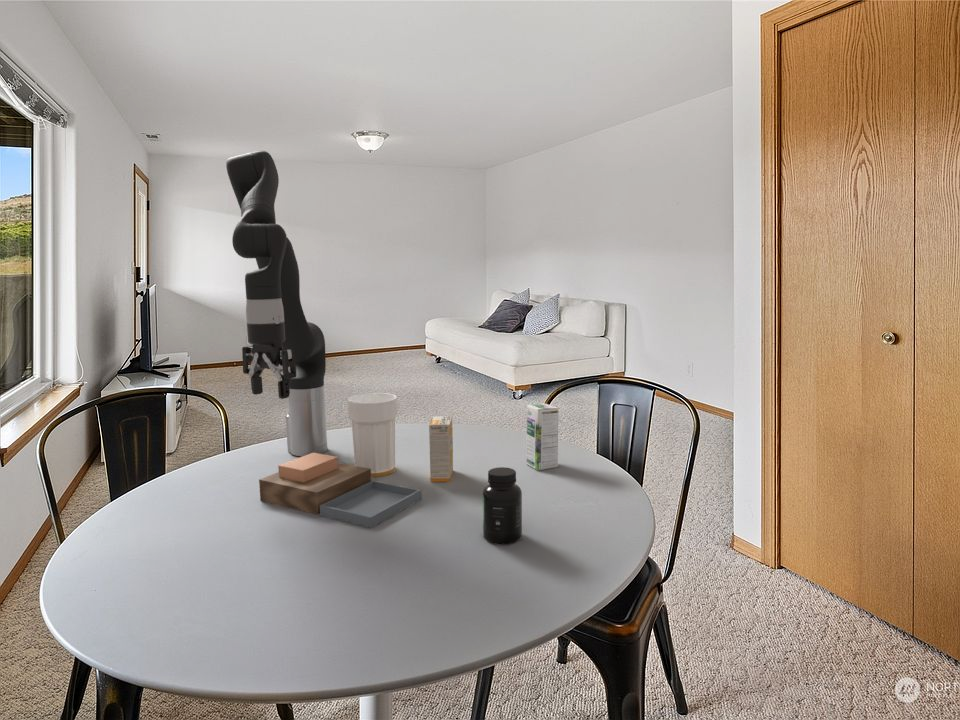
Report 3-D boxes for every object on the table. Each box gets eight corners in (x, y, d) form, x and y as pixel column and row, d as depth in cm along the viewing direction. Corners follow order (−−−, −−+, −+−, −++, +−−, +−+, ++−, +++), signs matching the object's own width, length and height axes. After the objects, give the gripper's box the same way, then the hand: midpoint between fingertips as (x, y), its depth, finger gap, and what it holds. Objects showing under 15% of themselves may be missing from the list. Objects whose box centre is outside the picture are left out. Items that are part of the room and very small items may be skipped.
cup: (390, 480, 142) (387, 403, 140) (343, 477, 145) (339, 402, 142) (406, 464, 153) (403, 393, 151) (361, 461, 155) (358, 392, 153)
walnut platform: (260, 500, 131) (259, 479, 130) (316, 477, 145) (315, 458, 144) (318, 514, 123) (317, 492, 122) (371, 488, 137) (370, 468, 136)
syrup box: (525, 464, 152) (525, 404, 150) (546, 460, 154) (546, 402, 152) (537, 471, 147) (537, 409, 145) (559, 467, 149) (559, 407, 147)
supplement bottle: (476, 540, 111) (475, 474, 109) (493, 526, 117) (493, 463, 115) (511, 548, 108) (511, 480, 106) (528, 533, 114) (528, 468, 112)
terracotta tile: (279, 477, 132) (278, 465, 131) (313, 463, 140) (313, 452, 140) (303, 482, 128) (303, 470, 128) (337, 468, 137) (337, 456, 136)
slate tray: (320, 515, 123) (319, 505, 123) (373, 489, 137) (372, 480, 136) (371, 527, 117) (370, 517, 116) (421, 499, 130) (421, 489, 130)
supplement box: (451, 482, 140) (450, 424, 138) (429, 482, 140) (428, 424, 138) (454, 470, 148) (452, 415, 146) (433, 470, 149) (432, 415, 147)
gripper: (228, 320, 135) (234, 396, 137) (273, 323, 127) (279, 402, 130) (258, 317, 141) (263, 389, 143) (302, 320, 133) (307, 396, 136)
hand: (270, 396), depth 137 cm, fingers open, 8 cm apart
